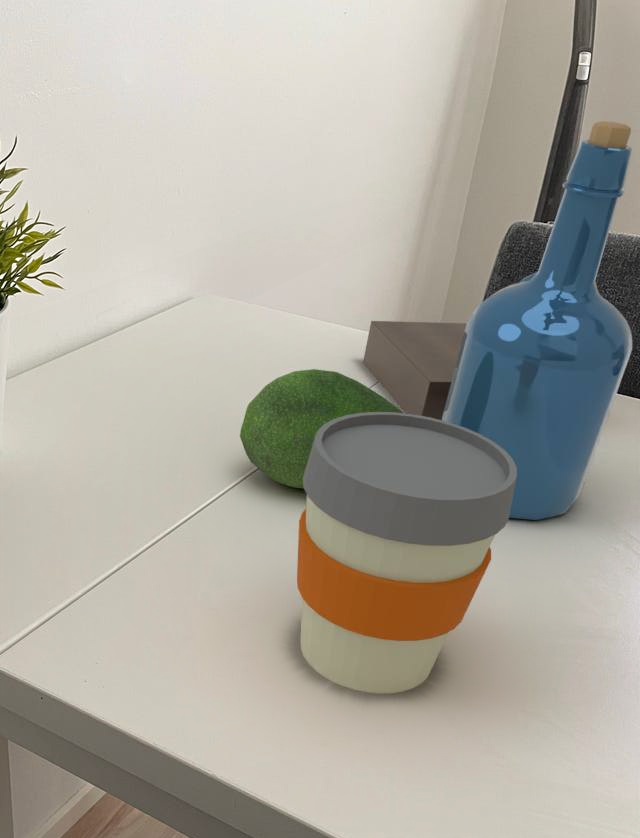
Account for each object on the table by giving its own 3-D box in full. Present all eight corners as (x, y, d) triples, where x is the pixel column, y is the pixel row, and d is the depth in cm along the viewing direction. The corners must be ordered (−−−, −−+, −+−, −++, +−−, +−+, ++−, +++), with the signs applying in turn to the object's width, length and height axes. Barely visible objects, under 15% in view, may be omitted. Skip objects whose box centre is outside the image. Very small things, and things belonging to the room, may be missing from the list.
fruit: (401, 472, 92) (427, 367, 86) (406, 523, 84) (434, 411, 78) (240, 449, 93) (254, 345, 88) (229, 497, 85) (244, 385, 80)
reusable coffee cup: (242, 619, 70) (272, 420, 62) (388, 590, 75) (436, 402, 66) (336, 730, 61) (387, 515, 53) (496, 690, 66) (568, 486, 57)
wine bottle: (577, 539, 84) (721, 149, 67) (420, 506, 87) (518, 123, 69) (574, 473, 95) (697, 123, 77) (434, 445, 98) (522, 101, 80)
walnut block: (506, 366, 118) (518, 324, 115) (581, 430, 104) (597, 384, 101) (362, 363, 115) (371, 320, 112) (418, 429, 101) (430, 381, 98)
